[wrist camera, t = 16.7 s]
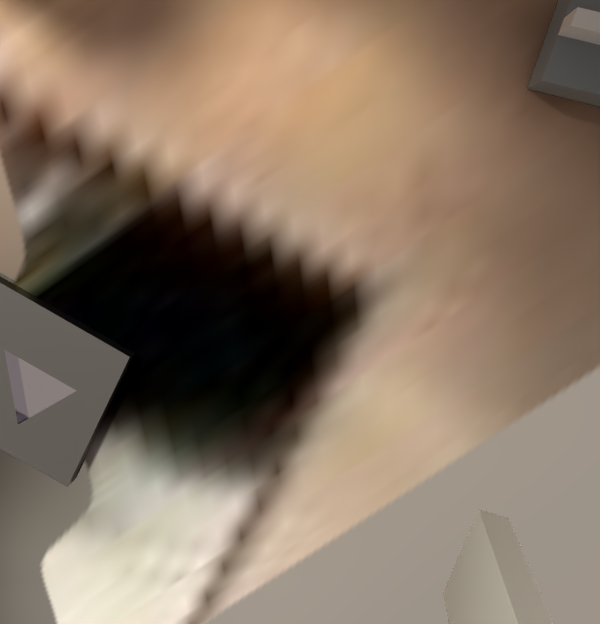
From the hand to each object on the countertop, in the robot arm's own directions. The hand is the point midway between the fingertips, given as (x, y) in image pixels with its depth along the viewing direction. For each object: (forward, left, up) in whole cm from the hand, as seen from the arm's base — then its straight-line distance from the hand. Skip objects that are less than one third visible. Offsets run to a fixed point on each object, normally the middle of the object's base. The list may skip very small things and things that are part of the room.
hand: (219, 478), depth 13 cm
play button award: (-26, -17, -29) cm, 43 cm away
